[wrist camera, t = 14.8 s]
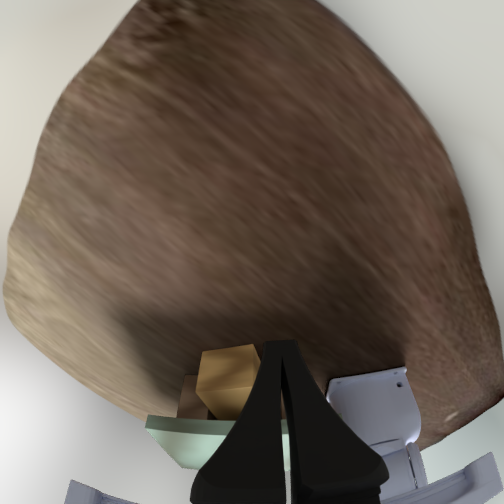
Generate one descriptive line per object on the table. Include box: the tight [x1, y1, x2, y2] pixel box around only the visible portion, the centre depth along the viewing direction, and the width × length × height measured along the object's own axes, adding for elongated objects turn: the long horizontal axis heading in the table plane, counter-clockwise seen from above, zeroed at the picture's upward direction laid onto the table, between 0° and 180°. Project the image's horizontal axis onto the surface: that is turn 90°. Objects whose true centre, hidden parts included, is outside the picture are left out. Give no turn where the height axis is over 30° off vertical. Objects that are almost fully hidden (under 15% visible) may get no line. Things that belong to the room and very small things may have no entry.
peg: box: [195, 344, 261, 421], centre depth 26 cm, size 5×12×5 cm, turn 15°
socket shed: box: [145, 375, 343, 471], centre depth 26 cm, size 17×12×8 cm
